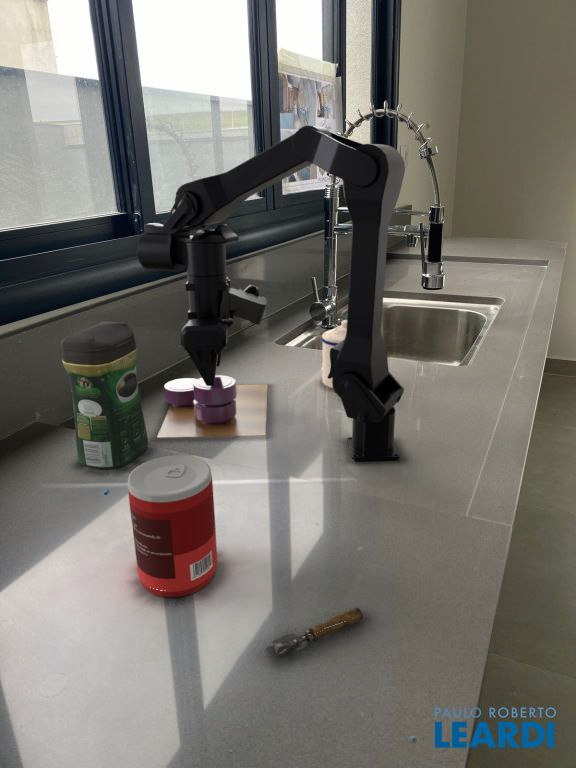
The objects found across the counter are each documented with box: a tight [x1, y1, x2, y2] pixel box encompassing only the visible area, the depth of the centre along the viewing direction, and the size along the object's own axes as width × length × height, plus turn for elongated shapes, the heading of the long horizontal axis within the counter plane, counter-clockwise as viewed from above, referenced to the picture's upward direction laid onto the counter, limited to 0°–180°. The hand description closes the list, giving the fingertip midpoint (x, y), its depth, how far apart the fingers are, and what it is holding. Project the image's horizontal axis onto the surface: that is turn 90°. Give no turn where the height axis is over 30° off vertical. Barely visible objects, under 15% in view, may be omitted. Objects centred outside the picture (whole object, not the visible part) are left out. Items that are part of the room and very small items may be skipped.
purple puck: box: [193, 374, 237, 406], centre depth 93 cm, size 7×7×3 cm
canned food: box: [127, 454, 218, 598], centre depth 58 cm, size 8×8×11 cm
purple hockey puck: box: [163, 377, 198, 406], centre depth 101 cm, size 7×7×3 cm
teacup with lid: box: [320, 319, 347, 389], centre depth 109 cm, size 12×9×12 cm
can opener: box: [265, 607, 364, 657], centre depth 51 cm, size 9×2×1 cm, turn 113°
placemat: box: [156, 383, 269, 439], centre depth 99 cm, size 22×16×1 cm
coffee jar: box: [60, 321, 149, 470], centre depth 81 cm, size 10×8×19 cm
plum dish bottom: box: [193, 398, 236, 424], centre depth 95 cm, size 7×7×3 cm
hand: (213, 375), depth 93 cm, fingers open, 9 cm apart
